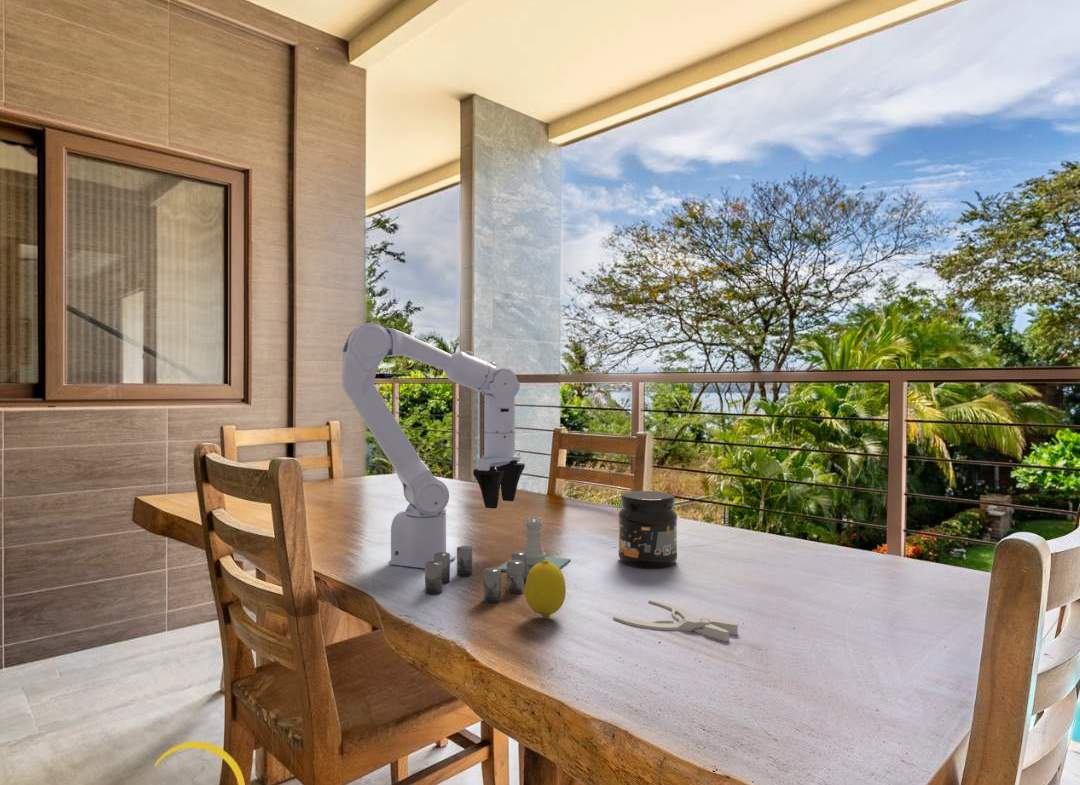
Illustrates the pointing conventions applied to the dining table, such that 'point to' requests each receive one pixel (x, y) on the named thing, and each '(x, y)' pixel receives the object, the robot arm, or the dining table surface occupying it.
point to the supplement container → (647, 529)
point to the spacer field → (440, 573)
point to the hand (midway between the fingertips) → (500, 504)
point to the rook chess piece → (534, 542)
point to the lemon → (545, 588)
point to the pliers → (687, 623)
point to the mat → (556, 561)
